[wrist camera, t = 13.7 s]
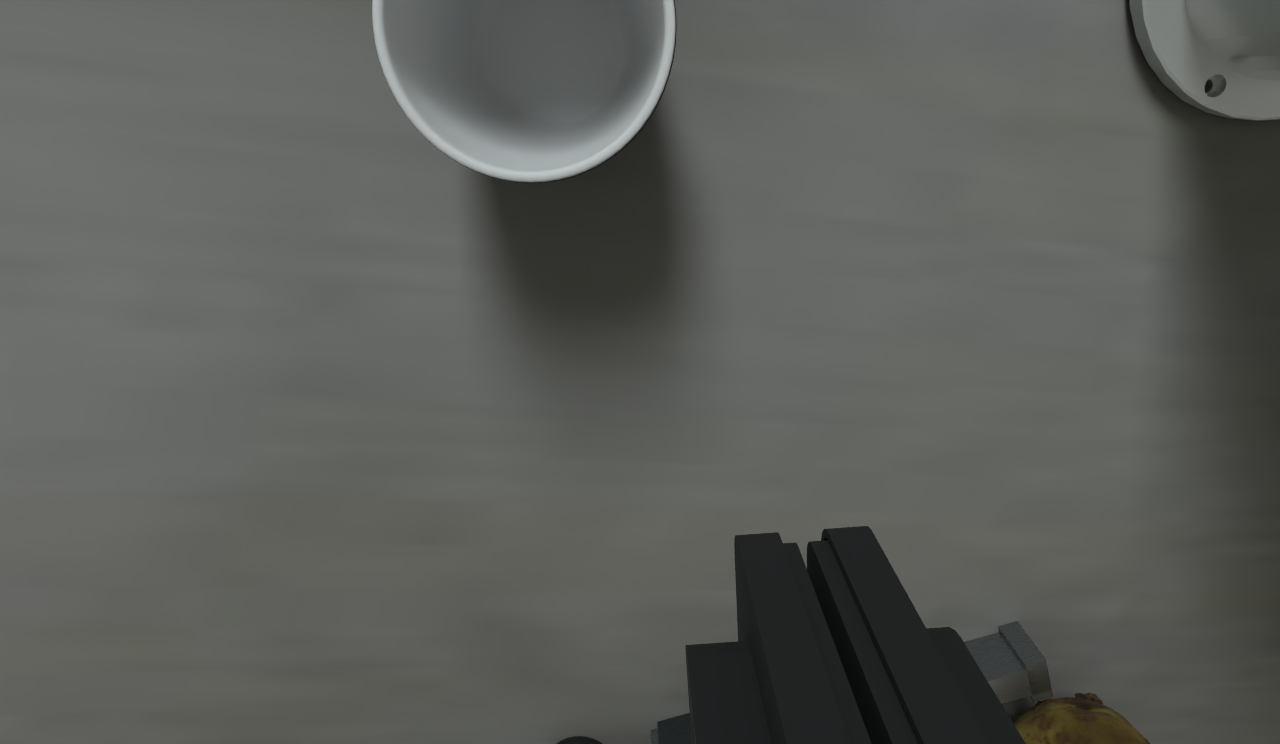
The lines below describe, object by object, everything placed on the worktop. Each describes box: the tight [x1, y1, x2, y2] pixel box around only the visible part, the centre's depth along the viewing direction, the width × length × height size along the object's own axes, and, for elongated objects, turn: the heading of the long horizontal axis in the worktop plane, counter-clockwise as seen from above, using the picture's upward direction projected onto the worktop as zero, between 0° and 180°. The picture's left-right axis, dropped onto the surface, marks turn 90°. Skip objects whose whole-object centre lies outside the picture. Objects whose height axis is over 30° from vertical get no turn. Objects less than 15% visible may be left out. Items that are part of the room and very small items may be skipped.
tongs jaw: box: [651, 622, 1053, 744], centre depth 41 cm, size 23×2×5 cm, turn 108°
